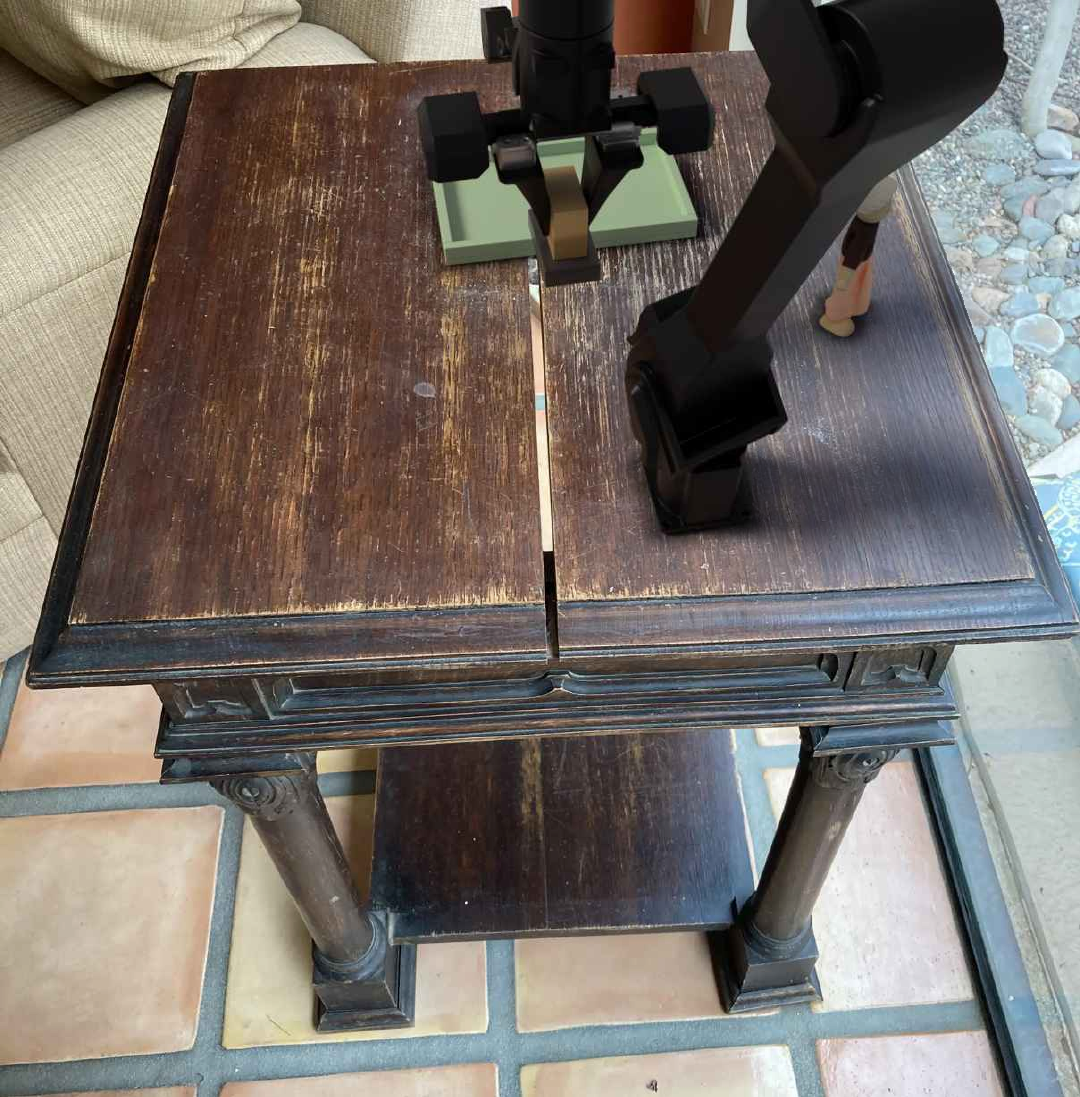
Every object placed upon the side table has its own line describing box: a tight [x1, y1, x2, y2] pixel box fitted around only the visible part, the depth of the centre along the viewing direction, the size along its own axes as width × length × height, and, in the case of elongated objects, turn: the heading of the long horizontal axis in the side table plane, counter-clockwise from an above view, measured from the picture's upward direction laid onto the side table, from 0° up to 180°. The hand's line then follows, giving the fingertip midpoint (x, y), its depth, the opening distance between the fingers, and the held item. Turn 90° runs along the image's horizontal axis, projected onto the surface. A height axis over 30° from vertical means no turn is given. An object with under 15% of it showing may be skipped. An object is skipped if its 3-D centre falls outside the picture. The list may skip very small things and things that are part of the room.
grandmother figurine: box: [819, 175, 899, 338], centre depth 79 cm, size 8×4×13 cm, turn 168°
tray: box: [432, 126, 699, 266], centre depth 92 cm, size 14×22×2 cm, turn 99°
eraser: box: [528, 165, 602, 288], centre depth 74 cm, size 7×4×6 cm, turn 10°
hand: (564, 230), depth 75 cm, fingers closed on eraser, 2 cm apart
